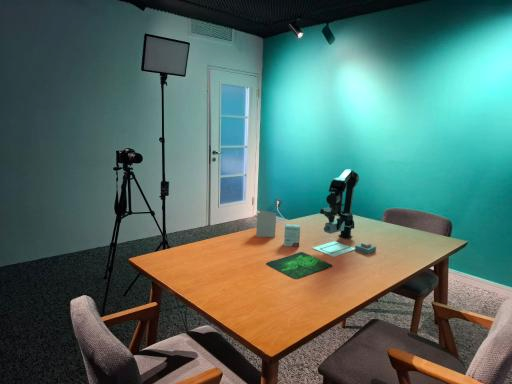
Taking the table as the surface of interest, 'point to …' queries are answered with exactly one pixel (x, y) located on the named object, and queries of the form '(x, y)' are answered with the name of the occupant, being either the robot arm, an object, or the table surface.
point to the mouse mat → (299, 265)
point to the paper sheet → (334, 248)
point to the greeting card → (266, 224)
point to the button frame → (365, 249)
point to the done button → (366, 244)
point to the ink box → (292, 235)
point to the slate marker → (333, 227)
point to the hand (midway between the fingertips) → (334, 228)
